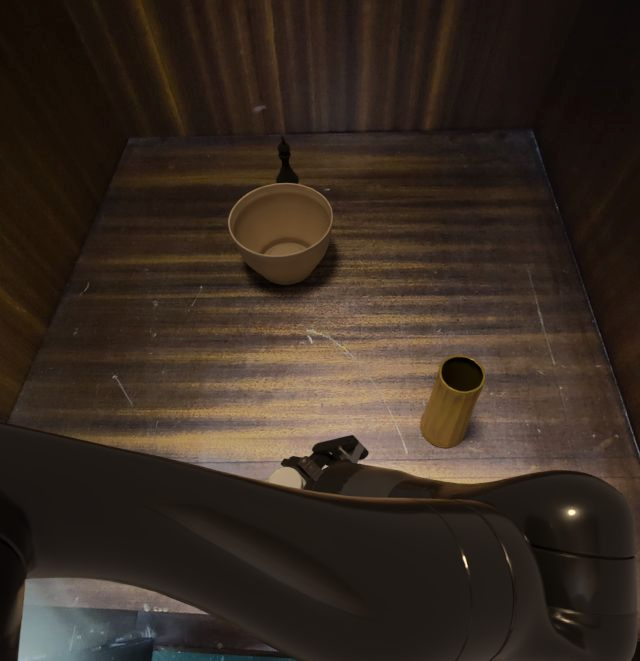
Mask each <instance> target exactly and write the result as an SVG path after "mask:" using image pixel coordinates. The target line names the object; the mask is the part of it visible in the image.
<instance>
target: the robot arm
mask: <svg viewBox="0 0 640 661" xmlns="http://www.w3.org/2000/svg"><path fill="white" fill-rule="evenodd" d="M311 452H312V453H311V454H310V455H309V456H308V455H304V456H297V455H292V456H290V457H289V458H287V457H286V458H285V457H284V458H283V459H282V460H281V462H280V465H281V467H290V468H293V469H295V470H296V471H297V472H298V473H299V474H300V476H302V477H303V478H306V479H308V480H307V482H306V484H305V486H304V488H303V489H299V488H293V487H288V486H283V485H279V484H274V483H270V482H265V480H261V479H257V478H252V477H248V476H243V475H240V474H235V473H231V472H226V471H223V470H217V469H213V468H209V467H206V466H201V465H198V464H194V463H190V462H184V461H181V460H177V459H173V458H169V457H165V456H164V457H163V456H159V455H155V454H150V453H146V452H140V451H136V450H130V449H126V448H121V447H117V446H111V445H107V444H102V443H99V442H94V441H89V440H85V439H81V438H76V437H72V436H71V437H70V436H67V435H64V434H58V433H54V432H49V431H45V430H40V429H35V428H32V427H26V426H22V425H18V424H13V423H9V422H4V421H0V661H19V655H20V654H19V653H20V645H21V644H20V643H21V634H22V624H23V615H24V606H25V605H24V604H25V595H26V580H38V579H39V580H42V579H79V580H80V579H82V580H83V579H84V580H94V581H103V582H110V583H116V584H120V585H121V584H122V585H125V586H126V585H127V586H131V587H136V588H139V589H142V590H146V591H150V592H154V593H156V594H159V595H162V596H165V597H166V598H168V599H169V598H170V599H172V600H175V601H177V602H180V603H182V604H184V605H187V606H190V607H193V608H194V609H195V608H196V609H197V610H199V611H201V612H204V613H205V614H208V615H210V616H212V617H214V618H216V619H218V620H220V621H221V622H224V623H225V624H228V625H230V626H231V627H233V628H236V629H237V630H239V631H241V632H243V633H244V634H246V635H248V636H250V637H251V638H254V639H255V640H257V641H258V642H260V643H262V644H264V645H266V646H268V647H269V648H271V649H273V650H275V651H276V652H279V653H281V654H283V655H285V656H286V657H289V658H291V659H293V660H294V661H632V660H633V658H634V656H635V653H636V650H637V645H638V640H639V639H638V638H639V622H638V620H639V617H638V612H639V611H638V579H637V578H638V575H637V574H638V573H637V572H638V570H637V568H638V566H637V557H636V555H637V526H636V525H637V524H636V519H635V518H636V517H635V513H634V510H633V508H632V506H631V503H630V502H629V501H628V499H627V498H626V497H625V495H624V494H623V493H621V491H619V489H617V488H616V487H615V486H613V485H612V484H610V483H609V482H608V481H606V480H604V479H602V478H600V477H599V476H596V475H593V474H590V473H588V472H583V471H579V470H570V469H569V470H567V469H552V470H544V471H536V472H530V473H525V474H520V475H515V476H511V477H507V478H502V479H498V480H493V481H485V482H484V481H483V482H476V483H466V482H465V483H463V482H452V481H445V480H444V481H443V480H439V479H438V480H437V479H433V478H427V477H422V476H417V475H415V474H411V473H409V472H406V471H403V470H398V469H394V468H389V467H388V468H387V467H381V466H376V465H370V464H362V463H358V462H359V461H363V460H365V459H366V458H367V457H368V456H369V450H368V449H367V448H366V447H365V446H364V445H363V444H362V442H360V440H359V439H358V438H357V436H355V435H354V434H350V435H345V436H341V437H337V438H333V439H328V440H324V441H320V442H317V443H315V444H314V445H313V446H312V448H311ZM325 466H326V467H325Z"/></svg>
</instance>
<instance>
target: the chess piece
mask: <svg viewBox="0 0 640 661" xmlns="http://www.w3.org/2000/svg"><path fill="white" fill-rule="evenodd" d="M280 139H281V140H280V142H279V143H278V145H277V151H278V153H277V155H278V158H279V159H280V161H281V168H280V170H279V173H278V174H277V177H276V179H275V182H276V183H275V184H277V183H294V184H299V181H300V178H299V177H298V175H297V173H296V172H295V171H294V170H293V167H292V166H291V165H290V158H291V151H290V150H291V145H290V144H289V143H287V142H286V139H285V137H284V135H281V136H280Z"/></svg>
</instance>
